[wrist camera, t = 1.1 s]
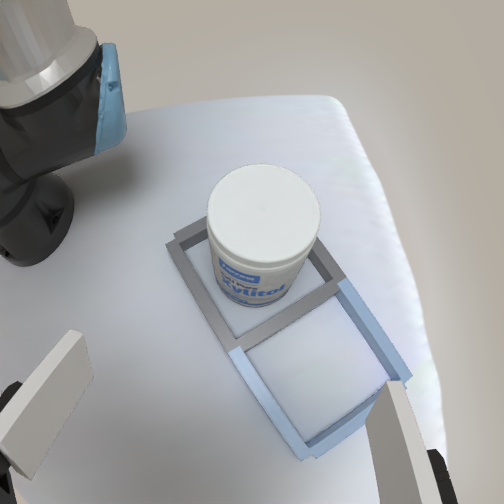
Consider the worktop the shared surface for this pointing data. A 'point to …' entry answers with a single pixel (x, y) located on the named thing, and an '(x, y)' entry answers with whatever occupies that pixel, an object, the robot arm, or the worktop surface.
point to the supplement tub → (260, 231)
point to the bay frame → (238, 347)
